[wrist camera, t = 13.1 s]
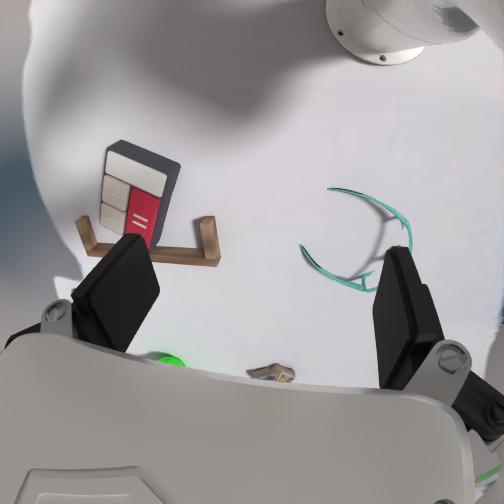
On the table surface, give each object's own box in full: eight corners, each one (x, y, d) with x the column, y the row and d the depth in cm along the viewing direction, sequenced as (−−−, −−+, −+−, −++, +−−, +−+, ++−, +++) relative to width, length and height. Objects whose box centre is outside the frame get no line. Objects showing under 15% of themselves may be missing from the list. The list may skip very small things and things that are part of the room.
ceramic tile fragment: (291, 399, 65) (251, 395, 67) (293, 388, 68) (254, 384, 70) (295, 374, 58) (249, 369, 60) (296, 362, 61) (252, 357, 63)
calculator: (96, 226, 45) (103, 148, 36) (110, 213, 48) (120, 138, 39) (150, 253, 46) (168, 175, 36) (161, 238, 49) (182, 163, 40)
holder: (82, 215, 49) (75, 222, 47) (214, 216, 43) (209, 224, 41) (94, 248, 53) (87, 256, 51) (220, 257, 48) (216, 266, 46)
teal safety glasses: (376, 286, 45) (377, 307, 41) (295, 248, 46) (289, 266, 42) (423, 218, 37) (431, 235, 33) (334, 170, 38) (332, 182, 34)
